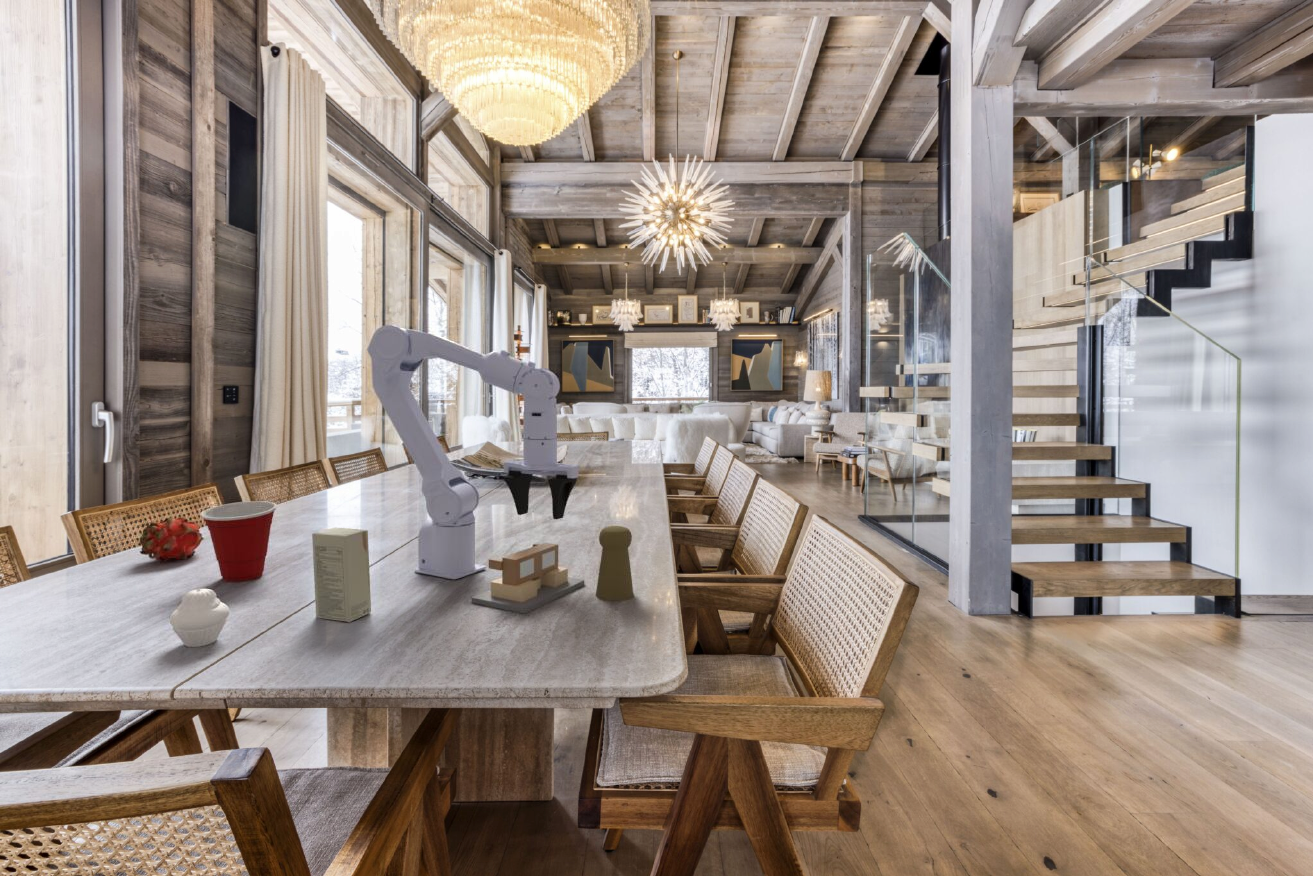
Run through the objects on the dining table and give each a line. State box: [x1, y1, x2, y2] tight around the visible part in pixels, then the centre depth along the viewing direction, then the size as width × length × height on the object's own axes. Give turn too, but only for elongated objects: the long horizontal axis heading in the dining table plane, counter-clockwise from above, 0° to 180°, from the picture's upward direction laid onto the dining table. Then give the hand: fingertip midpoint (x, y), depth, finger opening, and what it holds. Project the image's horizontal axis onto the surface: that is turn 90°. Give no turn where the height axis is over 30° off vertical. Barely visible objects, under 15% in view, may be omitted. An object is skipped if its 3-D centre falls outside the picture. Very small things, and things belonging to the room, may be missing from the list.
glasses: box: [488, 542, 559, 586], centre depth 103 cm, size 5×12×4 cm, turn 154°
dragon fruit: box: [139, 516, 205, 563], centre depth 119 cm, size 8×8×12 cm
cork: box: [595, 525, 634, 602], centre depth 103 cm, size 6×6×11 cm
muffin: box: [169, 587, 230, 648], centre depth 81 cm, size 6×6×7 cm
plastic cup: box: [199, 500, 278, 583], centre depth 108 cm, size 11×11×12 cm
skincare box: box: [311, 527, 372, 623], centre depth 92 cm, size 6×4×12 cm
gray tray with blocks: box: [471, 566, 585, 615], centre depth 103 cm, size 10×16×3 cm, turn 154°
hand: (540, 516), depth 113 cm, fingers open, 7 cm apart
